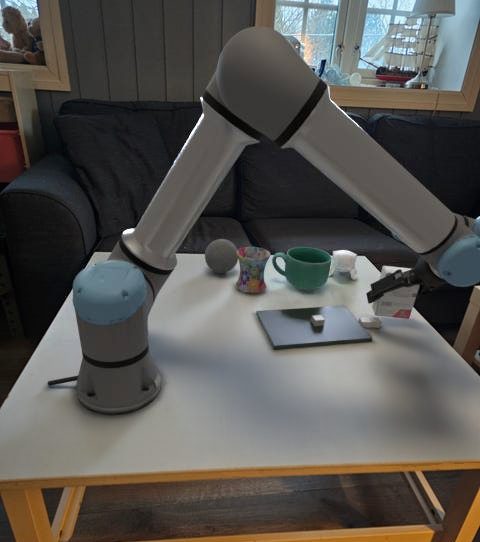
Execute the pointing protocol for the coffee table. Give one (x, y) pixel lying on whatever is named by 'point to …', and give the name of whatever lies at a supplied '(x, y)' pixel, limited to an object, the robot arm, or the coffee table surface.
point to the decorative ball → (221, 256)
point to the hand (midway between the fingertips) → (386, 297)
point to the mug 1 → (252, 269)
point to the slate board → (311, 327)
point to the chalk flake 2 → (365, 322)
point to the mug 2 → (305, 267)
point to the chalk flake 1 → (318, 320)
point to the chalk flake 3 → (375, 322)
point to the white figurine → (343, 262)
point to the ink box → (395, 298)
